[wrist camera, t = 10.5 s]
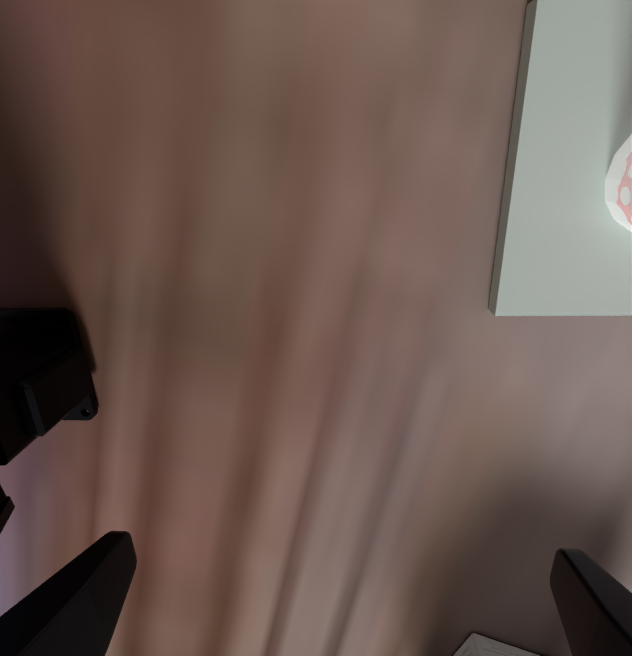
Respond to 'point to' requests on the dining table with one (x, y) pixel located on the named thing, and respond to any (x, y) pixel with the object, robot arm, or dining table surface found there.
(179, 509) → the dining table surface
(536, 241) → the ceramic coaster
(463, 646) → the supplement box
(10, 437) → the robot arm
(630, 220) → the beverage cup
